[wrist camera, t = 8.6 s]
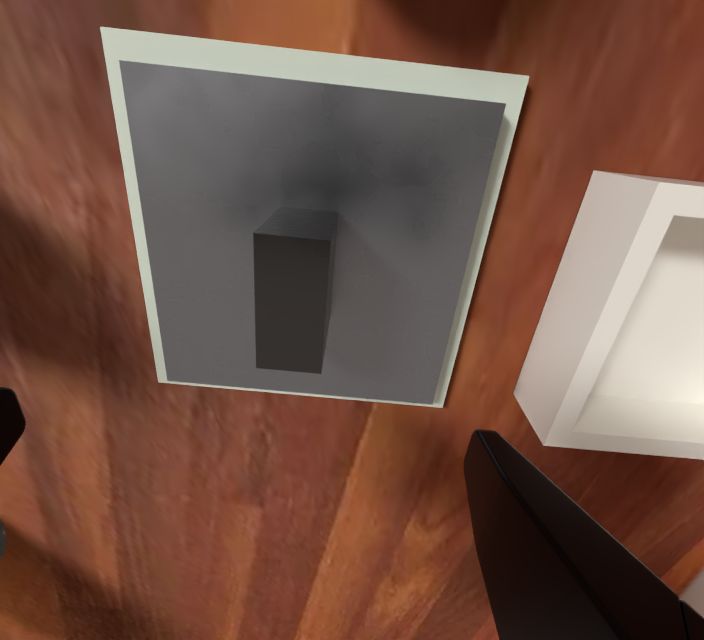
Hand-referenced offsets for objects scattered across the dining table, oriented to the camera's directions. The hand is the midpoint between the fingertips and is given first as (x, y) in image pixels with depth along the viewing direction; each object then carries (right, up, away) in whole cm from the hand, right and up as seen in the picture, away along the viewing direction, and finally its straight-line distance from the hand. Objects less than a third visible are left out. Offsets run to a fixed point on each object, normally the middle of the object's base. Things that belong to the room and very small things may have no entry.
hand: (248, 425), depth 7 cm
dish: (+18, +3, +12) cm, 21 cm away
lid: (0, +5, +10) cm, 11 cm away
